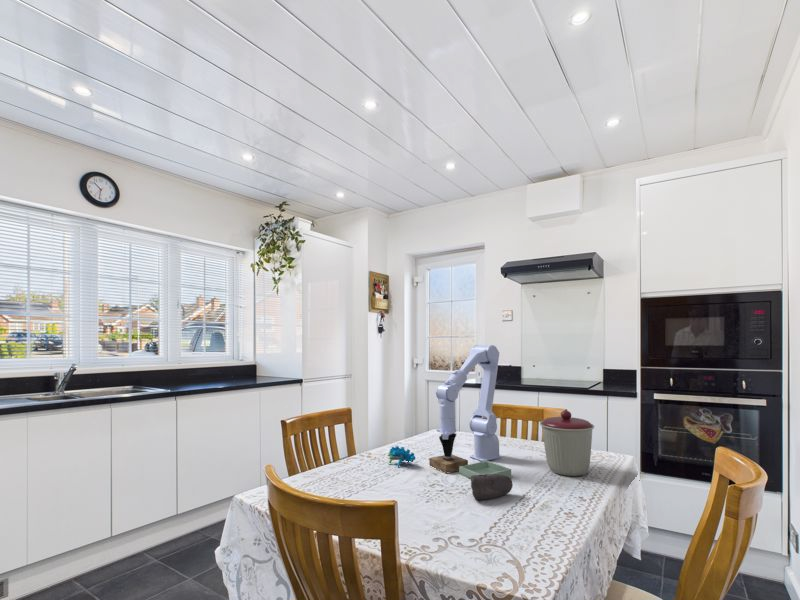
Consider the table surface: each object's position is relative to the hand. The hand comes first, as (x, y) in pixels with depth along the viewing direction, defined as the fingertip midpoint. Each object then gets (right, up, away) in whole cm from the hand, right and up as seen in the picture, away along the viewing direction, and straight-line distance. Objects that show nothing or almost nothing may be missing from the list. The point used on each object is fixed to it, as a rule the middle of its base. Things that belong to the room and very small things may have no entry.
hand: (448, 455), depth 159 cm
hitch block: (0, -4, 0) cm, 4 cm away
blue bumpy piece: (-17, -5, +4) cm, 18 cm away
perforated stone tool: (+10, -2, -30) cm, 31 cm away
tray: (+12, -4, -10) cm, 15 cm away
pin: (0, -4, 0) cm, 4 cm away
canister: (+41, -4, -7) cm, 42 cm away
